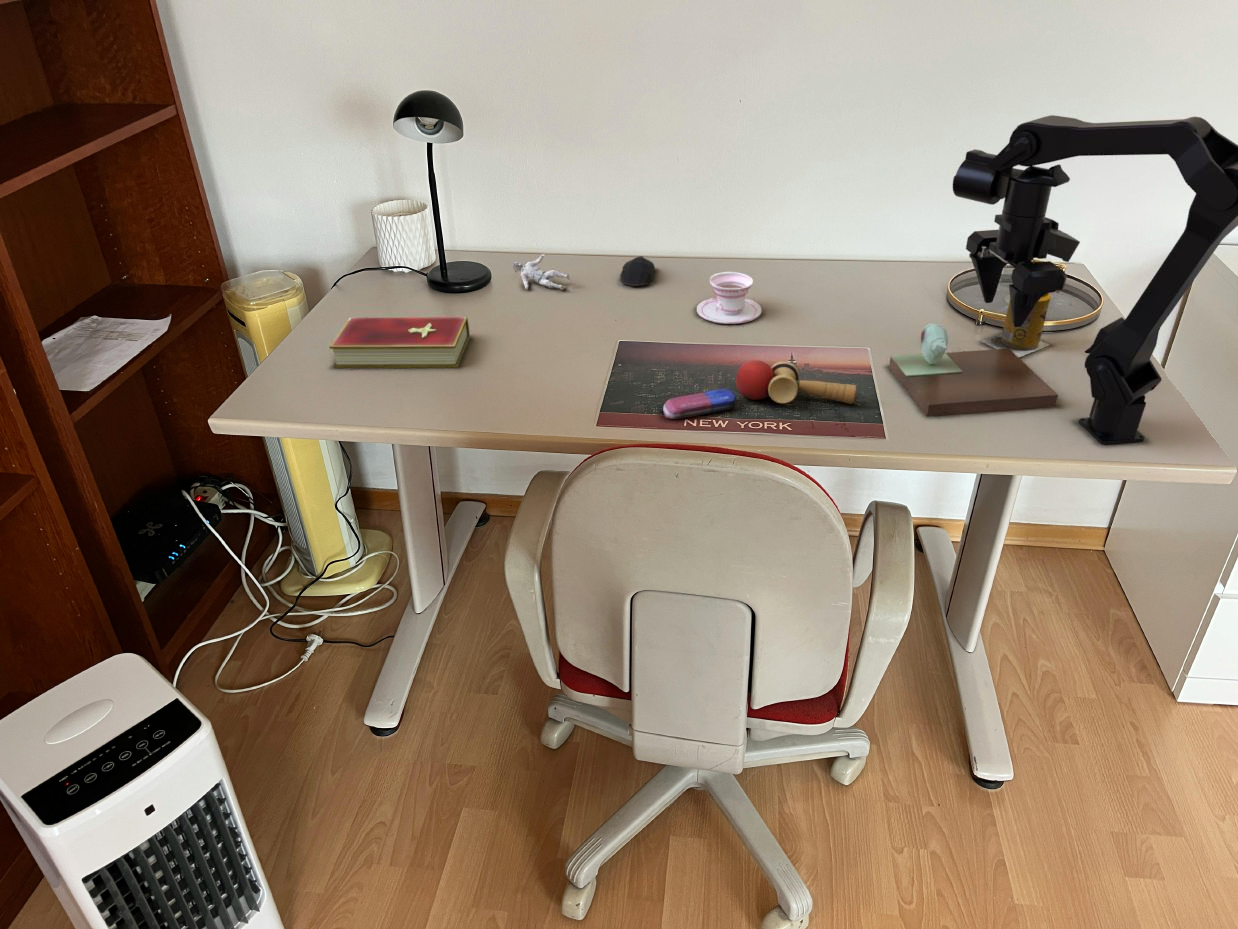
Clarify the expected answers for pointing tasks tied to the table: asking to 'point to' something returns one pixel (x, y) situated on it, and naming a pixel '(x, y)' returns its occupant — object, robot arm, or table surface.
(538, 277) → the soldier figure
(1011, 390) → the walnut board
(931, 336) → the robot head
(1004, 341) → the condiment
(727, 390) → the eraser
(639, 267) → the gaming mouse
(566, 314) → the table surface
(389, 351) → the hardcover book
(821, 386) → the kendama
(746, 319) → the teacup
